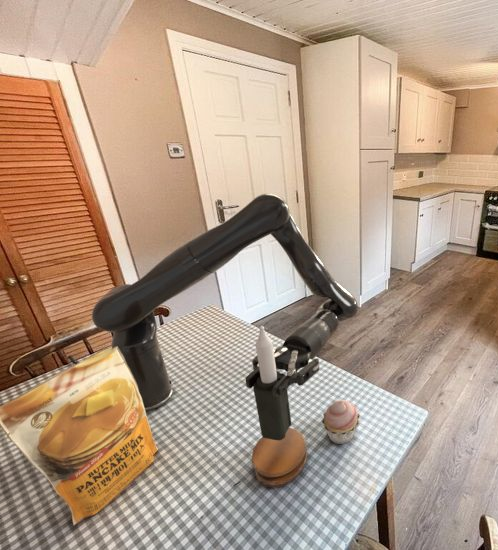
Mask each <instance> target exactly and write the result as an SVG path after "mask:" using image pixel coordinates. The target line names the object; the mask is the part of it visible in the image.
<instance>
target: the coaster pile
mask: <svg viewBox="0 0 498 550" xmlns="http://www.w3.org/2000/svg"><path fill="white" fill-rule="evenodd" d="M307 457H308V453H307V447H306V440H305V437H304V436H303V434H302V433H301V432H300V431H299V430H297V429H295V428H292V427H289V428H288V430H287V432H286V434H285V438H284V439H282V440H272V439H267V438H263V437H262V436H261V437H260V438H259V439H258V440H257V442H256V444H255V445H254V448H253V450H252V456H251V462H252V467H253V471H254V472H253V473H254V476H255V478H256V480H257V481H258V482H259V483H260V484H261V485H262V486H264V487H267V488H274V489H275V488H280V487H284V486H286V485H289V484H291V483H293V482H294V481H295V480H296V479H297V478H298V477H299V476H300V475H301V473H303V470H304V469H305V466H306V463H307V460H308V459H307Z"/></svg>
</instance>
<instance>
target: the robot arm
mask: <svg viewBox="0 0 498 550" xmlns="http://www.w3.org/2000/svg"><path fill="white" fill-rule="evenodd" d="M269 235H271V236H272V238H274V239H275V241H277V243H278V244H279V246H280V247H281V248H282V250H283V251H284V253H285V254H286V255H287V258H289V261H290V262H291V264H292V266H293V267H294V269H295V271H296V272H297V274H298V275H299V277H300V279H301V281H303V283H304V285H305V286H306V287H307V288H308V289H309V291H310V292H311V294H312V295H313V296H314V297H316V298H328V299H327V300H326V301H324V302H323V303H321V304H320V306H319V307H318V309H317V310H316V312H315V314H313V315H312V316H311V317H310V318H309V319H307V320H306V321H305V322H302V324H301V325H299V327H297V329H295V330H294V331H293V332H292V333H291V334H290V335H288V337H286V339H285V340H284V342H283V343H282V345H281V346H279V347H277V348H275V349H274V348H273V351H274V358H275V365H276V371H279V370H281V371H285V372H286V374H285V375H284V376H283V377H282V378H281V379H280V380H279V381H278V382H277V383H276V384H275V385H274V387H273V389H272V391H273V396H275V397H278V396H279V395H282V394H283V393H284V392H285V391H286V390H287V391H288V389H289V387H290V386H293V385H294V384H297V386H303V385H304V384H305V383H307V382H308V381H309V380H310V379H311V378H312V377H313V376H315V375H316V374H317V373H318V372H319V371H320V361H319V360H320V359H319V358H316V357H317V356H318V354H319V353H321V351H322V350H323V349H324V347H325V346H326V345H327V343H328V342H329V340H330V339H331V338H332V337H333V336H334V335H335V333H336V332H337V330H338V328H339V326H340V323H341V322H344V321H346V320H350V319H352V318H354V317H355V316H356V315H357V314H358V311H359V305H358V301H357V299H356V298H355V296H353V294H352V293H351V292H350V291H348V290H347V289H346V288H345V287H344V286H342V284H341V283H339V282H338V281H337V280H336V279H334V277H333V276H332V274H331V273H330V271H329V270H328V269H327V267H326V266H325V264H324V263H323V262H322V260H321V259H320V257H319V256H318V255H317V253H316V252H315V251H314V250H313V249H312V247H311V246H310V245H309V243H308V242H307V240H306V239H305V238H304V236H303V235H302V233H301V231H300V229H299V228H298V226H297V224H296V222H295V220H294V218H293V216H292V213H291V211H290V207H289V205H288V204H287V202H286V201H285V200H284V199H283V198H282V197H280V195H278V194H274V193H262V194H260V195H258V196H257V195H256V197H254V198H253V199H252V200H251V201H250V202H249V203H247V204H246V205H245V206H243V208H241V210H239V211H238V212H236V213H235V214H234V215H232V217H230V218H229V219H227V220H225V221H224V222H223V223H221V224H218V225H216V226H214V227H212V228H210V229H208V230H206V231H204V232H202V233H201V234H199V235H197V236H195V237H193V238H192V239H189V241H187V242H185V243H184V244H182V245H180V246H179V247H178V248H176V249H175V250H173V251H172V252H171V253H169V254H168V255H167V256H165V257H164V258H163V259H162V260H160V261H158V263H157V264H156V265H154V267H152V268H151V269H150V270H149V271H148V272H147V273H146V274H145V275H143V276H142V277H141V278H140V279H138V280H137V281H135V282H133V283H132V284H131V283H129V284H128V283H125V284H119V285H117V286H115V287H113V288H112V289H110V290H109V291H108V292H107V293H106V294H104V295H103V296H102V297H101V298H100V299H98V300H97V302H96V303H95V305H94V306H93V308H92V311H91V319H92V322H93V324H94V326H95V327H96V328H98V329H99V330H100V331H104V332H108V333H113V336H112V340H111V344H110V346H111V348H114V347H117V346H118V348H119V349H120V351H121V353H122V354H123V356H124V358H125V360H126V363H127V365H128V367H129V369H130V370H131V373H132V375H133V377H134V379H135V381H136V383H137V385H138V389H139V393H140V395H141V397H142V401H143V404H144V408H145V411H146V412H149V411H153V410H155V409H157V408H159V407H161V406H163V405H165V404H166V403H167V402H168V401H169V400H170V399H171V398H172V397H173V395H174V389H173V387H172V380H171V379H170V377H169V374H168V371H167V367H166V363H165V359H164V356H163V352H162V350H161V346H160V342H159V340H158V334H157V333H158V324H157V320H156V316H155V310H156V309H157V308H159V307H160V306H162V305H163V304H165V303H166V302H168V301H169V300H171V299H173V298H175V297H177V296H178V295H180V294H182V293H184V292H185V291H187V290H189V289H190V288H191V287H193V286H195V285H197V284H199V283H201V282H202V281H204V280H206V279H207V278H208V277H210V276H211V275H213V274H214V273H216V272H218V271H219V270H220V269H222V268H223V267H224V266H225V265H227V264H228V263H230V261H231V260H232V259H234V258H235V257H236V256H238V254H240V252H242V251H243V250H244V249H246V248H247V247H248V246H250V245H252V244H254V243H256V242H257V241H259V240H261V239H263V238H265V237H267V236H269ZM67 359H68V360H70V362H71V363H72V364H74V365H76V364H78V363H79V362H80V361H76V360H75V358H74V357H73V355H70V354H69V355H68V356H67ZM75 361H76V362H75ZM251 363H252V371H251V372H250V373H249V374H247V375H246V377H245V386H246V388H248V389H253V385H254V383H255V382H256V381H257V378H259V377H260V376H259V375H260V369H259V363H258V357H257V355H256V356H255V357H254V358H253V359H252V361H251Z"/></svg>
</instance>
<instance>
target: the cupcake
mask: <svg viewBox="0 0 498 550" xmlns="http://www.w3.org/2000/svg"><path fill="white" fill-rule="evenodd" d="M322 416H323V418H322V419H321V424H322V425H323V428H324V430H325V431H326V434H327V436H328V438H329V439H330V441H331V442H332V443H335V444H337V445H338V444H339V445H343V444H344V445H345V444H347V443H349V442H351V440H352V439H353V438H354V436H355V433H356V430H357V428H358V427H359V426H360V424H361V423H360V418H361V414H360V413H358V409H357V407H356V406H355V405H354V404H353V403H351V402H349V401H348V400H347V399H336V400H335V401H333V403H331V405H329V406H328V407H327V408H326V410H325V411H324V412H323V413H322Z"/></svg>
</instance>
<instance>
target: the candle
mask: <svg viewBox="0 0 498 550" xmlns="http://www.w3.org/2000/svg"><path fill="white" fill-rule="evenodd" d="M258 330H259V333H258V338H257V339H256V342H255V350H256V356H257V357H258V363H259V369H260V375H259V376H260V377H259V378H257V381H256V382H255V383H254V385H253V387H252V389H253V394H254V399H255V405H256V412H257V417H258V422H259V428H260V434H261V437H263V438H267V439H272V440H282V439H284V438H285V434H286V432H287V430H288V428H291V426H292V417H291V409H290V400H289V393H288V389H287V390H286V391H285V392H284V393H283V394H282V395H279V396H278V397H275V396H273V391H272V389H273V387H274V385H275V384H276V383H277V382H278V381H279V380H280V379H281V378H282V377H283V376H284V375H286V374H285V373H283V372H280V371H279V370H277V371H276V365H275V358H274V351H273V349H274V345H273V344H274V343H273V340H272V339H271V338H270V337H269V336H268V334H267V332H266V331H265V327H264V326H263V325H261V326H259V327H258Z"/></svg>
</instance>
